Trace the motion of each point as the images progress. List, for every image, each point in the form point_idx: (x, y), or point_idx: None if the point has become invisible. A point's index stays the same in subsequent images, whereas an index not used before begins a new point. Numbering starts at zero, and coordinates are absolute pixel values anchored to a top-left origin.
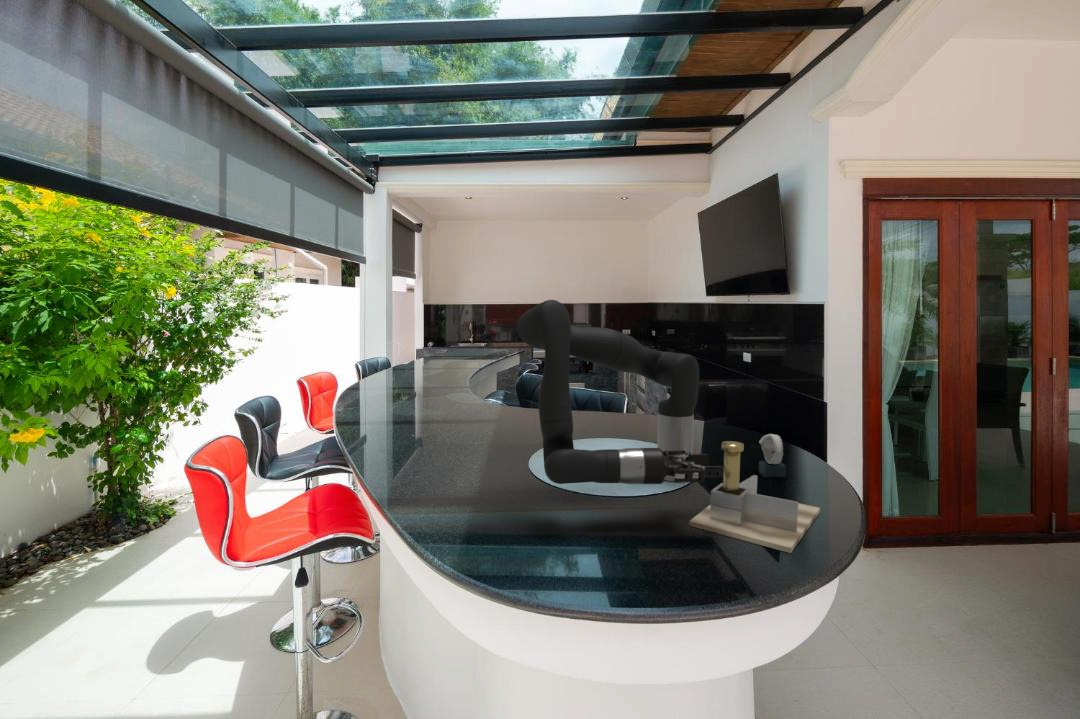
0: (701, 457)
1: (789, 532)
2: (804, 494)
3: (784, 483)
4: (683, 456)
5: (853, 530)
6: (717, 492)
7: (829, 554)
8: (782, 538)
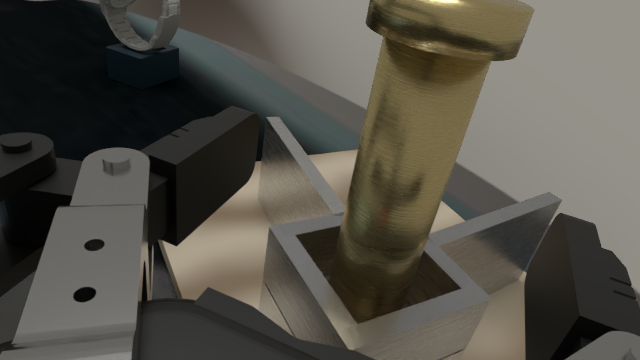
0: (227, 151)
1: (523, 297)
2: (277, 114)
3: (202, 95)
4: (145, 247)
5: (484, 183)
6: (386, 338)
7: None
8: None
